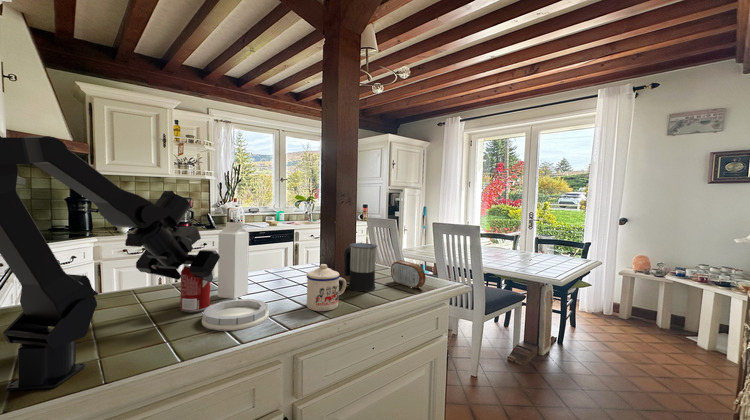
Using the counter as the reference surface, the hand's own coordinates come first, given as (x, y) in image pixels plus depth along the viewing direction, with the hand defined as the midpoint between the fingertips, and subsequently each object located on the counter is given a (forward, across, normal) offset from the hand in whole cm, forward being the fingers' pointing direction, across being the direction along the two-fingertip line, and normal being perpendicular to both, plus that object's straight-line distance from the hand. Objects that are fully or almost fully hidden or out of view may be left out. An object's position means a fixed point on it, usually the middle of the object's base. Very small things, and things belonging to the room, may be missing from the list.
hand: (195, 279), depth 82 cm
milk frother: (+27, -35, -15) cm, 46 cm away
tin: (+33, -53, -21) cm, 66 cm away
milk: (+15, -2, -4) cm, 16 cm away
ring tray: (+4, -14, +8) cm, 16 cm away
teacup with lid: (+14, -32, -2) cm, 35 cm away
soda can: (+6, 0, +6) cm, 8 cm away
